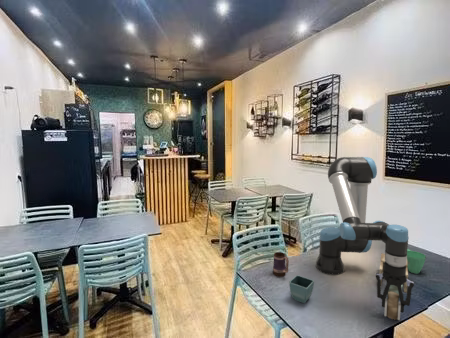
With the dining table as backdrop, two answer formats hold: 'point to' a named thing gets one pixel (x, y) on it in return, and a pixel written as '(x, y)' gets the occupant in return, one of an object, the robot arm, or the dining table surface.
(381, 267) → the tan wooden arch
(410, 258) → the mug
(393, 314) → the tethered block
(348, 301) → the dining table surface
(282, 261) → the mug
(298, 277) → the flower pot
